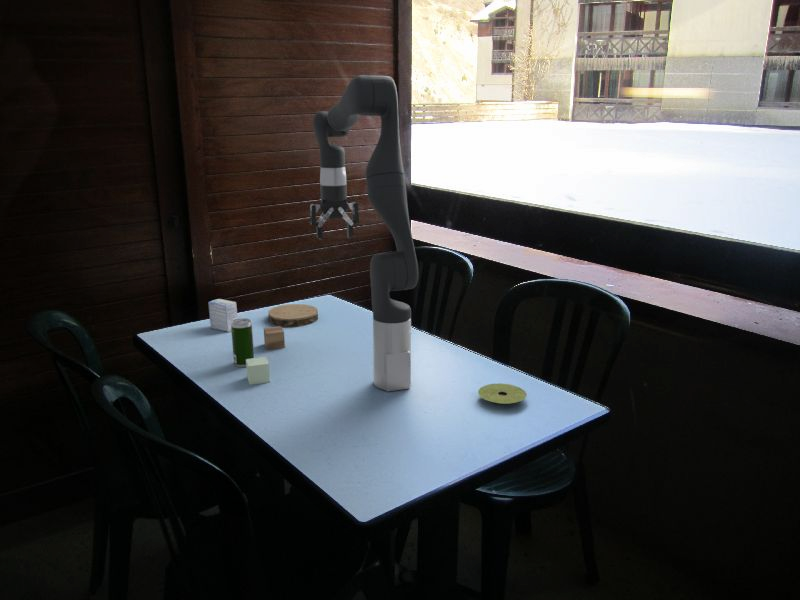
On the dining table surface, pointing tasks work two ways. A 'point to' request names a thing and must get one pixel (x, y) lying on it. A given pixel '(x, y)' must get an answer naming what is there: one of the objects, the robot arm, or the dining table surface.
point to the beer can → (242, 341)
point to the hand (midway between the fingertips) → (335, 238)
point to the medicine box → (222, 314)
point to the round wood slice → (293, 315)
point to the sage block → (257, 370)
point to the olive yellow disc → (502, 393)
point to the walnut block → (274, 338)
